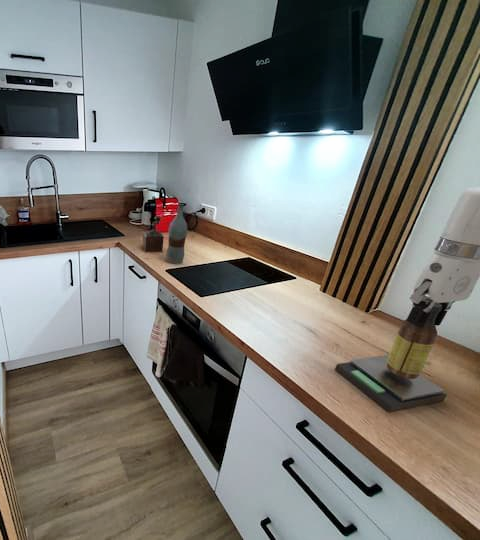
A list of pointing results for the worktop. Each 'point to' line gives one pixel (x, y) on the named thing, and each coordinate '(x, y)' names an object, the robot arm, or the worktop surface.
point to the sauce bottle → (413, 346)
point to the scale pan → (396, 379)
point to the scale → (382, 390)
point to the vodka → (177, 238)
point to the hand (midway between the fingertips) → (422, 322)
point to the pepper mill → (153, 239)
